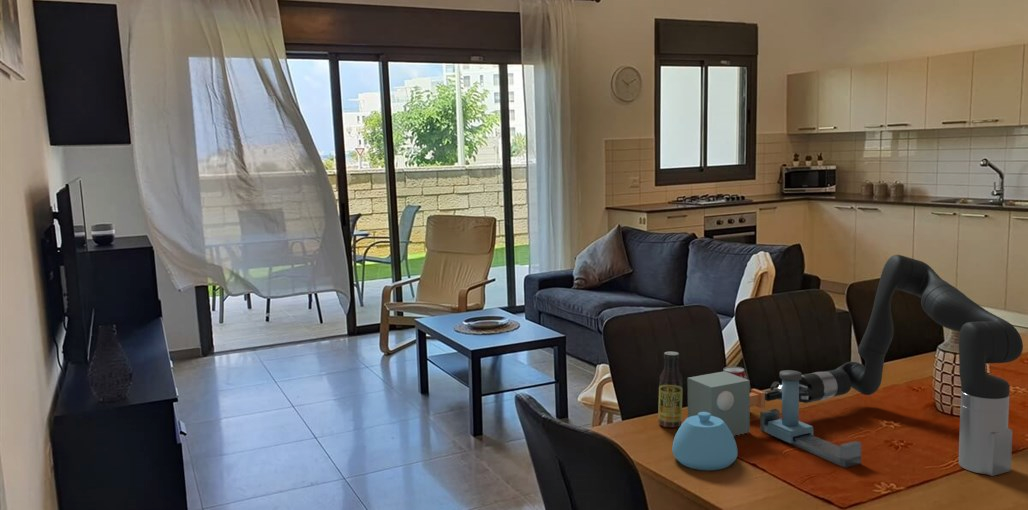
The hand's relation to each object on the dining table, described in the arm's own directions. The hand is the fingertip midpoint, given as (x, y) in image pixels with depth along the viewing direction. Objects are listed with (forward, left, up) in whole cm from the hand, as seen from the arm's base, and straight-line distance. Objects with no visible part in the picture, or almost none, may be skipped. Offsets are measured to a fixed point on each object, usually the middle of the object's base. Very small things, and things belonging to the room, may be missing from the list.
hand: (764, 396), depth 205 cm
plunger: (0, +6, -2) cm, 6 cm away
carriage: (-10, +1, -8) cm, 13 cm away
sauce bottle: (+13, +21, -8) cm, 26 cm away
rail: (-16, +1, -8) cm, 18 cm away
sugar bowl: (-11, +28, -8) cm, 31 cm away
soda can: (+14, -1, -8) cm, 16 cm away
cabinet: (+3, +13, -8) cm, 15 cm away
